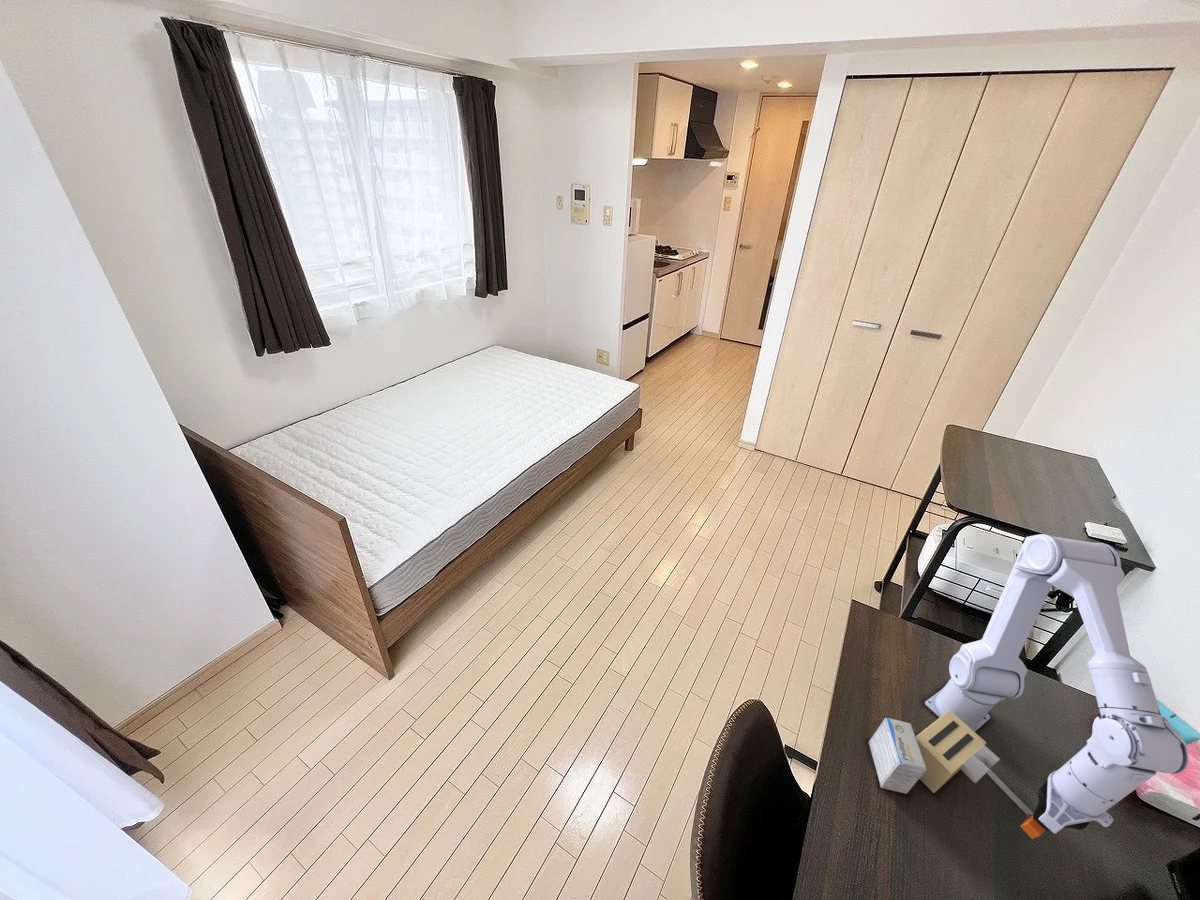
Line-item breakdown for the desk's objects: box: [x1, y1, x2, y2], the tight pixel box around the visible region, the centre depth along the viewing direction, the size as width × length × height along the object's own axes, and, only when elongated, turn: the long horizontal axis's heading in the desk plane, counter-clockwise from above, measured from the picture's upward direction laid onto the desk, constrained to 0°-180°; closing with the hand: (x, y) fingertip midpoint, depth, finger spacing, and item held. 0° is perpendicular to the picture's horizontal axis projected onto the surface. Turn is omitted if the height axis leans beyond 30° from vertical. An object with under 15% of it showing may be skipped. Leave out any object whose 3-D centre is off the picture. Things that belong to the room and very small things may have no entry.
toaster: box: [915, 710, 1001, 794], centre depth 84 cm, size 11×9×10 cm
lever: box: [978, 757, 1046, 840], centre depth 77 cm, size 5×10×2 cm, turn 29°
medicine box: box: [868, 717, 927, 795], centre depth 83 cm, size 8×4×9 cm, turn 168°
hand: (1041, 822), depth 74 cm, fingers closed, pressing on lever
